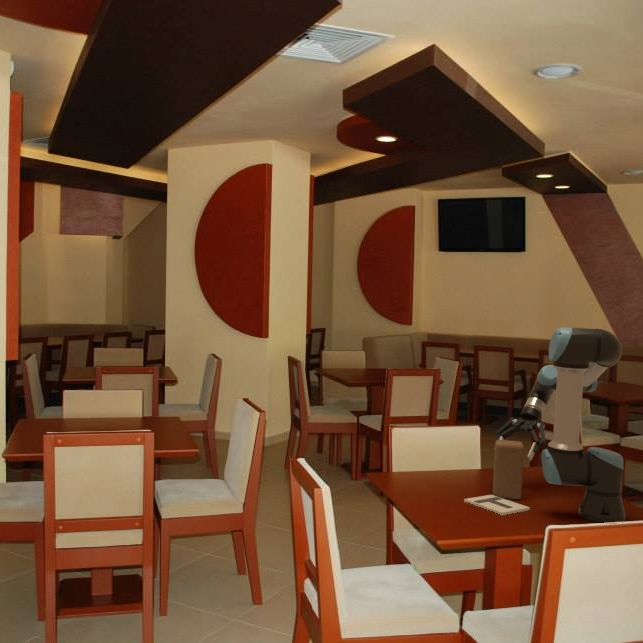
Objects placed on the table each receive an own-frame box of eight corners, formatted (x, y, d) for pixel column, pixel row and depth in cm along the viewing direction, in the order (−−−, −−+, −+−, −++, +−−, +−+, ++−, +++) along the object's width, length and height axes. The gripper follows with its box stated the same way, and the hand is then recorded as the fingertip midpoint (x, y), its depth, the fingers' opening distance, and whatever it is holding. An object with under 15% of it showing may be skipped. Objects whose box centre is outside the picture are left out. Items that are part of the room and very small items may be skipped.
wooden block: (520, 500, 284) (524, 446, 283) (492, 498, 286) (495, 444, 285) (519, 493, 294) (522, 441, 293) (492, 491, 296) (495, 439, 295)
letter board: (529, 510, 272) (529, 506, 272) (501, 515, 264) (502, 512, 264) (491, 497, 286) (491, 494, 286) (463, 501, 279) (464, 498, 278)
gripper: (565, 422, 298) (546, 467, 287) (506, 413, 314) (486, 455, 303) (560, 410, 293) (540, 455, 283) (500, 401, 310) (480, 443, 299)
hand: (512, 455), depth 293 cm, fingers open, 13 cm apart
